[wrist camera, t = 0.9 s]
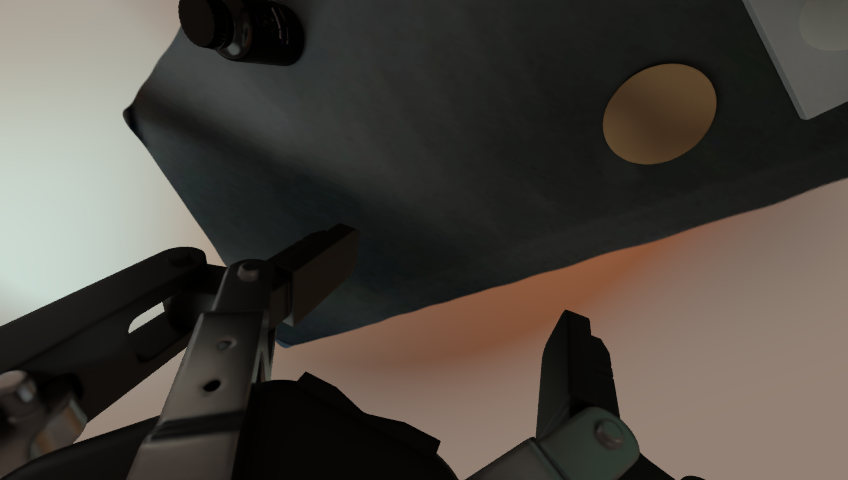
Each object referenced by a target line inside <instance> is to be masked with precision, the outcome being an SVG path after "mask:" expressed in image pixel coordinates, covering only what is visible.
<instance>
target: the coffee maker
mask: <svg viewBox="0 0 848 480" xmlns="http://www.w3.org/2000/svg"><path fill="white" fill-rule="evenodd" d="M742 1H743V3H744V5H745V7H746V9H747V11H748V13H749V15H750V17H751V19H752V21H753V23H754V25H755V27H756V29H757V31H758V33H759V36H760V38H761V40H762V42H763V44H764V46H765V48H766V50H767V52H768V54H769V56H770V58H771V60H772V62H773V64H774V66H775V68H776V70H777V72H778V74H779V76H780V78H781V80H782V82H783V84H784V86H785V88H786V90H787V92H788V94H789V96H790V98H791V100H792V102H793V104H794V106H795V108H796V110H797V112H798V114H799V116H800V118H801V119H806V120H808V119H810V118H813V117H815V116H817V115H819V114H821V113H823V112H825V111H828V110H830V109H832V108H834V107H836V106H838V105H840V104H842V103H845V102H847V101H848V50H840V51H824V50H819V49H816V48H814V47H812V46H810V45H809V44H807V43H806V42H805V41H804V39H803V38H802V36H801V33H800V30H799V18H800V14H801V10H802V8H803V6H804V4H805V2H806V0H742Z"/></svg>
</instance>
